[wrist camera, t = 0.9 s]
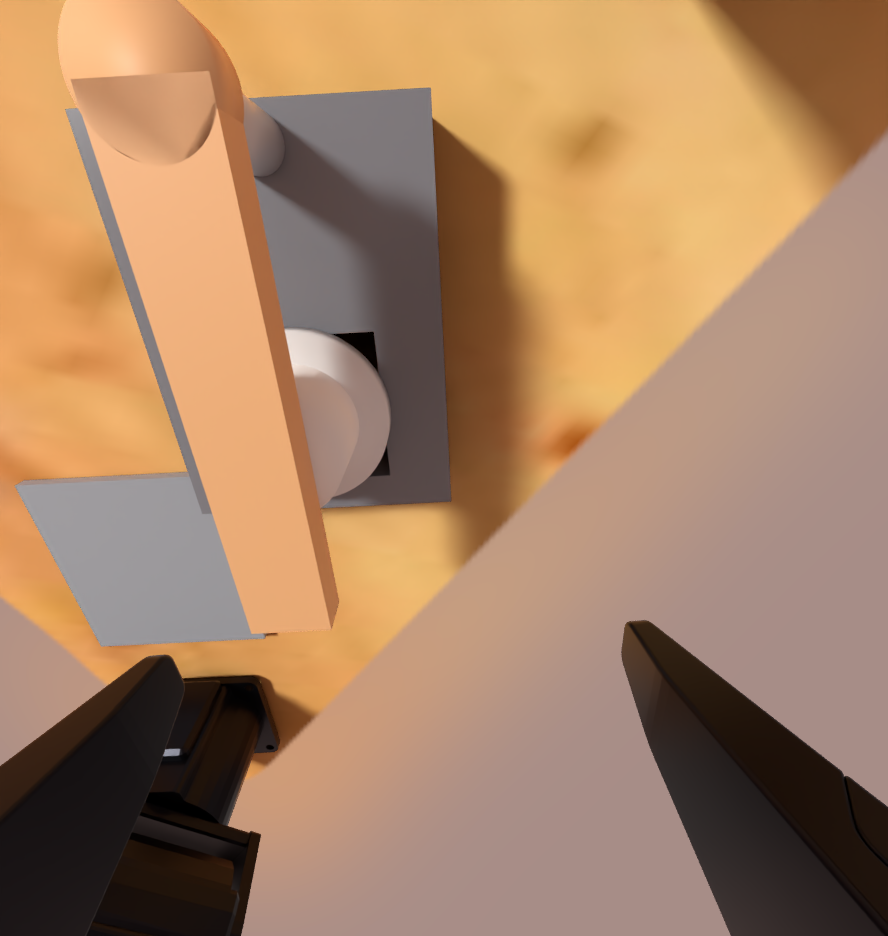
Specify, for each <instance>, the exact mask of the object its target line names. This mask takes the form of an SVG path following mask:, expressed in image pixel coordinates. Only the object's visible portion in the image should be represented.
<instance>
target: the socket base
mask: <svg viewBox="0 0 888 936" xmlns="http://www.w3.org/2000/svg"><path fill="white" fill-rule="evenodd" d="M243 101H244V124H243V125H244V130H245V135H246V139H247V144H248V149H249V154H250V159H251V164H252V169H253V174H254V179H255V184H256V189H257V194H258V199H259V204H260V209H261V214H262V219H263V224H264V229H265V234H266V239H267V244H268V249H269V254H270V259H271V264H272V269H273V274H274V279H275V284H276V289H277V294H278V299H279V304H280V309H281V314H282V319H283V324H284V328H287V327H305V328H312V329H317V330H320V331H324V332H327V333H330V334H339V333H358V332H374V338H375V346H376V355H377V364H378V372H379V376H380V377H381V379H382V381H383V383H384V386H385V388H386V391H387V394H388V397H389V401H390V407H391V427H390V432H389V436H388V440H387V445H386V448H385V451H384V454H383V456H382V459H381V461H380V462H379V464H378V466H377V467H376V469H375V470H374V471H373V472H372V474H371V475H370V476H369V477H368V478H367V479H366V480H365V481H364V482H362V483H361V484H360V485H358V486H357V487H355V488H354V489H352V490H350V491H348V492H346V493H343V494H341V495H338V496H335V497H332V498H331V500H330V501H329V502H328V503H327V504H325V505H324V506H323V507H322V508H333V507H353V506H373V505H392V504H412V503H432V502H451V486H450V466H449V446H448V426H447V406H446V385H445V365H444V345H443V325H442V305H441V285H440V265H439V245H438V224H437V204H436V184H435V164H434V144H433V124H432V104H431V88H414V89H397V90H380V91H363V92H346V93H329V94H312V95H295V96H278V97H262V98H247V97H246V96H245V95H244V94H243ZM65 110H66V113H67V116H68V119H69V122H70V125H71V128H72V131H73V134H74V137H75V140H76V143H77V146H78V149H79V152H80V155H81V158H82V160H83V163H84V166H85V169H86V172H87V175H88V178H89V181H90V184H91V187H92V190H93V193H94V196H95V199H96V202H97V205H98V208H99V211H100V214H101V217H102V220H103V222H104V225H105V228H106V231H107V234H108V237H109V240H110V243H111V246H112V249H113V252H114V255H115V258H116V261H117V264H118V267H119V270H120V273H121V276H122V279H123V282H124V284H125V287H126V290H127V293H128V296H129V299H130V302H131V305H132V308H133V311H134V314H135V317H136V320H137V323H138V326H139V329H140V332H141V335H142V338H143V341H144V344H145V347H146V349H147V352H148V355H149V358H150V361H151V364H152V367H153V370H154V373H155V376H156V379H157V382H158V385H159V388H160V391H161V394H162V397H163V400H164V403H165V406H166V409H167V411H168V414H169V417H170V420H171V423H172V426H173V429H174V432H175V435H176V438H177V441H178V444H179V447H180V450H181V453H182V456H183V459H184V462H185V465H186V468H187V471H188V473H189V476H190V479H191V482H192V485H193V488H194V491H195V494H196V497H197V500H198V503H199V506H200V509H201V512H202V514H212V511H211V508H210V505H209V502H208V499H207V496H206V493H205V490H204V487H203V484H202V481H201V478H200V475H199V472H198V469H197V466H196V462H195V459H194V456H193V453H192V450H191V447H190V444H189V441H188V438H187V435H186V432H185V429H184V426H183V423H182V420H181V417H180V414H179V410H178V407H177V404H176V401H175V398H174V395H173V392H172V389H171V386H170V383H169V380H168V377H167V374H166V371H165V368H164V365H163V362H162V358H161V355H160V352H159V349H158V346H157V343H156V340H155V337H154V334H153V331H152V328H151V325H150V322H149V319H148V316H147V313H146V310H145V306H144V303H143V300H142V297H141V294H140V291H139V288H138V285H137V282H136V279H135V276H134V273H133V270H132V267H131V264H130V261H129V258H128V254H127V251H126V248H125V245H124V242H123V239H122V236H121V233H120V230H119V227H118V224H117V221H116V218H115V215H114V212H113V209H112V206H111V202H110V199H109V196H108V193H107V190H106V187H105V184H104V181H103V178H102V175H101V172H100V169H99V166H98V163H97V160H96V157H95V154H94V150H93V147H92V144H91V141H90V138H89V135H88V132H87V129H86V126H85V123H84V120H83V117H82V115H81V113H80V111H79V110H78V108H75V109H65Z"/></svg>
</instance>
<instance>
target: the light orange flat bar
mask: <svg viewBox="0 0 888 936" xmlns="http://www.w3.org/2000/svg"><path fill="white" fill-rule="evenodd" d="M58 53H59V59H60V65H61V69H62V73H63V76H64V80H65V82H66V85H67V88H68V90H69V93H70V95H71V97H72V99H73V101H74V103H75V105H76V106H77V108H78V110H79V111H80V113H81V115H82V117H83V120H84V123H85V126H86V129H87V132H88V135H89V138H90V141H91V144H92V147H93V150H94V154H95V157H96V160H97V163H98V166H99V169H100V172H101V175H102V178H103V181H104V184H105V187H106V190H107V193H108V196H109V199H110V202H111V206H112V209H113V212H114V215H115V218H116V221H117V224H118V227H119V230H120V233H121V236H122V239H123V242H124V245H125V248H126V251H127V254H128V258H129V261H130V264H131V267H132V270H133V273H134V276H135V279H136V282H137V285H138V288H139V291H140V294H141V297H142V300H143V303H144V306H145V310H146V313H147V316H148V319H149V322H150V325H151V328H152V331H153V334H154V337H155V340H156V343H157V346H158V349H159V352H160V355H161V358H162V362H163V365H164V368H165V371H166V374H167V377H168V380H169V383H170V386H171V389H172V392H173V395H174V398H175V401H176V404H177V407H178V410H179V414H180V417H181V420H182V423H183V426H184V429H185V432H186V435H187V438H188V441H189V444H190V447H191V450H192V453H193V456H194V459H195V462H196V466H197V469H198V472H199V475H200V478H201V481H202V484H203V487H204V490H205V493H206V496H207V499H208V502H209V505H210V508H211V511H212V514H213V518H214V521H215V524H216V527H217V530H218V533H219V536H220V539H221V542H222V545H223V548H224V551H225V554H226V557H227V560H228V563H229V566H230V570H231V573H232V576H233V579H234V582H235V585H236V588H237V591H238V594H239V597H240V600H241V603H242V606H243V609H244V612H245V615H246V618H247V622H248V625H249V628H250V631H251V634H260V633H281V632H301V631H322V630H331V629H332V626H333V622H334V619H335V615H336V611H337V608H338V604H339V598H338V593H337V588H336V583H335V578H334V573H333V568H332V563H331V558H330V553H329V548H328V543H327V539H326V534H325V529H324V524H323V519H322V514H321V509H320V504H319V499H318V494H317V489H316V484H315V479H314V474H313V469H312V464H311V459H310V454H309V449H308V444H307V439H306V434H305V429H304V424H303V419H302V414H301V409H300V404H299V399H298V394H297V389H296V384H295V379H294V374H293V369H292V364H291V359H290V354H289V349H288V344H287V339H286V334H285V329H284V324H283V319H282V314H281V309H280V304H279V299H278V294H277V289H276V284H275V279H274V274H273V269H272V264H271V259H270V254H269V249H268V244H267V239H266V234H265V229H264V224H263V219H262V214H261V209H260V204H259V199H258V194H257V189H256V184H255V179H254V174H253V169H252V164H251V159H250V154H249V149H248V144H247V139H246V135H245V130H244V125H243V124H244V101H243V94H242V90H241V86H240V82H239V79H238V76H237V73H236V70H235V68H234V66H233V64H232V62H231V60H230V58H229V56H228V55H227V53H226V51H225V49H224V48H223V47H222V45H221V44H220V43H219V41H218V40H217V39H216V38H215V37H214V36H213V34H212V33H211V32H210V31H209V30H208V29H207V28H206V27H205V26H204V25H203V24H202V23H201V22H199V21H198V20H197V19H196V18H195V17H194V16H193V15H192V14H191V13H190V12H189V11H188V10H187V9H186V8H185V7H184V6H183V5H182V4H181V3H180V2H179V1H178V0H66V2H65V4H64V6H63V9H62V13H61V16H60V21H59V27H58Z"/></svg>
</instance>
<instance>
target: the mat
mask: <svg viewBox="0 0 888 936" xmlns="http://www.w3.org/2000/svg"><path fill="white" fill-rule="evenodd" d="M15 487H16V489H17V491H18V493H19V495H20V497H21V498H22V500H23V502H24V504H25V506H26V508H27V510H28V511H29V513H30V515H31V517H32V519H33V521H34V523H35V524H36V526H37V528H38V530H39V532H40V534H41V536H42V537H43V539H44V541H45V543H46V545H47V547H48V549H49V550H50V552H51V554H52V556H53V558H54V560H55V562H56V563H57V565H58V567H59V569H60V571H61V573H62V575H63V576H64V578H65V580H66V582H67V584H68V586H69V588H70V589H71V591H72V593H73V595H74V597H75V599H76V601H77V602H78V604H79V606H80V608H81V610H82V612H83V614H84V615H85V617H86V619H87V621H88V623H89V625H90V627H91V628H92V630H93V632H94V634H95V636H96V638H97V640H98V641H99V643H100V645H101V646H121V645H141V644H162V643H183V642H203V641H224V640H245V639H265V637H266V635H267V633H260V634H251V631H250V628H249V625H248V622H247V618H246V615H245V612H244V609H243V606H242V603H241V600H240V597H239V594H238V591H237V588H236V585H235V582H234V579H233V576H232V573H231V570H230V566H229V563H228V560H227V557H226V554H225V551H224V548H223V545H222V542H221V539H220V536H219V533H218V530H217V527H216V524H215V521H214V518H213V514H202V512H201V509H200V506H199V503H198V500H197V497H196V494H195V491H194V488H193V485H192V482H191V479H190V476H189V473H188V472H178V473H159V474H140V475H120V476H101V477H82V478H62V479H43V480H24V481H22V482H20V483H19V484H17V485H15Z"/></svg>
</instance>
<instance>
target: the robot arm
mask: <svg viewBox="0 0 888 936" xmlns="http://www.w3.org/2000/svg"><path fill="white" fill-rule="evenodd" d="M621 653H622V661H623V665H624V668H625V671H626V675H627V678H628V681H629V684H630V687H631V690H632V694H633V697H634V700H635V703H636V706H637V709H638V713H639V716H640V719H641V722H642V725H643V728H644V732H645V734H646V737H647V740H648V743H649V746H650V749H651V751H652V753H653V756H654V758H655V761H656V763H657V765H658V768H659V770H660V772H661V775H662V777H663V779H664V782H665V784H666V786H667V788H668V791H669V793H670V795H671V798H672V800H673V803H674V805H675V807H676V809H677V812H678V814H679V816H680V819H681V821H682V823H683V826H684V828H685V830H686V833H687V835H688V837H689V839H690V842H691V844H692V846H693V849H694V851H695V854H696V856H697V858H698V860H699V863H700V865H701V867H702V870H703V872H704V874H705V877H706V879H707V881H708V884H709V886H710V888H711V890H712V893H713V895H714V897H715V900H716V902H717V904H718V906H719V909H720V911H721V914H722V916H723V918H724V921H725V923H726V925H727V928H728V930H729V932H730V935H731V936H888V807H887V806H886V805H885V804H884V803H882V802H881V801H880V800H878V799H877V798H876V797H874V796H873V795H872V794H870V793H869V792H868V791H867V790H865V789H864V788H863V787H862V786H860V785H859V784H858V783H856V782H855V781H854V780H853V779H851V778H850V777H848V776H845V777H844V775H843V773H842V771H841V770H839V769H838V768H837V767H836V766H834V765H833V764H832V763H830V762H829V761H828V760H827V759H825V758H824V757H822V755H820V754H819V753H818V752H816V751H815V750H814V749H812V748H811V747H810V746H808V745H807V744H806V743H805V742H803V741H802V740H801V739H799V738H798V737H797V736H796V735H795V734H793V733H792V732H791V731H789V730H788V729H787V728H785V727H784V726H783V725H782V724H781V723H779V722H778V721H777V720H775V719H774V718H773V717H772V716H770V715H769V714H768V713H766V712H765V711H764V710H762V709H761V708H760V707H759V706H757V705H756V704H755V703H754V702H752V701H751V700H749V699H748V698H747V697H746V696H745V695H743V694H742V693H740V692H739V691H738V690H737V689H736V688H734V687H733V686H732V685H731V684H729V683H728V682H727V681H725V680H724V679H723V678H722V677H720V676H719V675H718V674H716V673H715V672H714V671H713V670H711V669H710V668H709V667H707V666H706V665H705V664H704V663H702V662H701V661H700V660H699V659H697V658H696V657H695V656H693V655H692V654H691V653H690V652H688V651H687V650H686V649H684V648H683V647H682V646H681V645H679V644H678V643H677V642H675V641H674V640H673V639H672V638H670V637H669V636H668V635H666V634H665V633H664V632H663V631H661V630H660V629H659V628H658V627H656V626H655V625H654V624H652V623H651V622H649V621H646V620H642V621H629V622H627V623H626V625H625V628H624V636H623V644H622V652H621ZM279 744H280V740H279V737H278V734H277V731H276V728H275V725H274V722H273V719H272V716H271V713H270V710H269V707H268V704H267V701H266V698H265V695H264V692H263V689H262V686H261V683H260V681H259V680H258V679H257V678H255V677H229V678H208V679H187V680H183V679H182V677H181V675H180V672H179V670H178V668H177V666H176V664H175V662H174V660H173V658H172V657H170V656H169V655H156V656H148V657H146V658H144V659H143V660H141V661H140V662H138V663H137V664H136V665H134V666H133V667H132V668H130V669H129V670H128V671H126V672H125V673H124V674H122V675H121V676H120V677H118V678H117V679H116V680H114V681H113V682H112V683H110V684H109V685H108V686H106V687H105V688H104V689H102V690H101V691H100V692H98V693H97V694H96V695H95V696H93V697H92V698H90V699H89V700H88V701H86V702H85V703H84V704H82V705H81V706H80V707H78V708H77V709H76V710H74V711H73V712H72V713H70V714H69V715H68V716H66V717H65V718H64V719H62V720H61V721H60V722H59V723H57V724H56V725H54V726H53V727H52V728H50V729H49V730H48V731H46V732H45V733H44V734H42V735H41V736H40V737H39V738H37V739H36V740H34V741H33V742H32V743H30V744H29V745H28V746H26V747H25V748H24V749H22V750H21V751H20V752H19V753H17V754H16V755H14V756H13V757H12V758H10V759H9V760H8V761H6V762H5V763H4V764H2V765H1V766H0V936H241V933H242V929H243V924H244V919H245V914H246V909H247V904H248V899H249V894H250V889H251V883H252V878H253V873H254V868H255V863H256V858H257V853H258V847H259V842H260V837H261V834H259V833H256V832H253V831H250V833H248V832H245V831H242V830H238V829H235V828H232V827H229V826H228V823H229V821H230V817H231V815H232V812H233V809H234V807H235V804H236V801H237V798H238V796H239V793H240V790H241V787H242V785H243V782H244V779H245V776H246V774H247V771H248V768H249V765H250V763H251V760H252V757H253V754H254V753H264V752H275V751H277V749H278V747H279Z"/></svg>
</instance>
